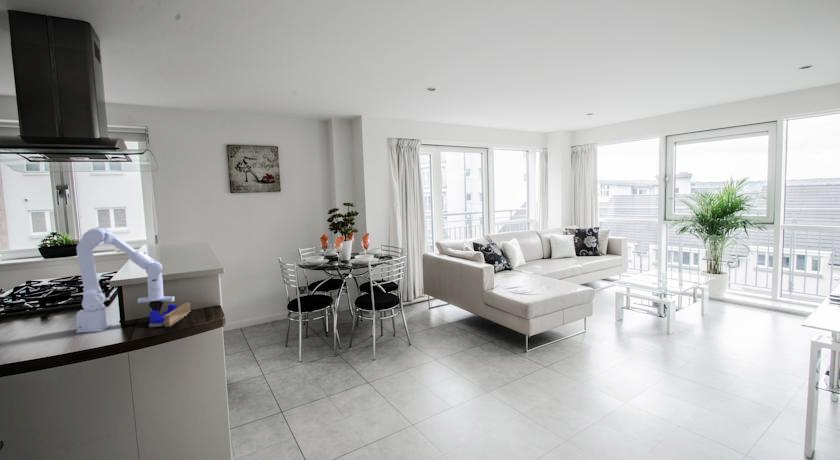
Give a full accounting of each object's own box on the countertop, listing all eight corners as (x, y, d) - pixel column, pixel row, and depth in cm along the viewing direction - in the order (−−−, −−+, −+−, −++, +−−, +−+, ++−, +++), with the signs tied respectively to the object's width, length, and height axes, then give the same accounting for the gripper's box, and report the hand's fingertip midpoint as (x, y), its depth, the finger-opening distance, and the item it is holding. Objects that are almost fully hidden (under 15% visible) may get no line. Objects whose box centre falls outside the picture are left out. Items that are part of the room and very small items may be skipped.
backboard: (165, 327, 166) (164, 315, 166) (186, 312, 187) (185, 302, 187) (170, 326, 167) (169, 315, 166) (190, 312, 187) (189, 302, 187)
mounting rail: (149, 327, 167) (148, 322, 166) (169, 314, 185) (169, 310, 184) (166, 326, 168) (166, 321, 168) (185, 313, 186) (184, 309, 186)
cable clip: (168, 316, 181) (167, 304, 181) (177, 316, 181) (176, 304, 180) (147, 324, 169) (146, 311, 169) (156, 325, 169) (155, 312, 168)
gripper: (176, 285, 179) (178, 313, 180) (142, 286, 177) (144, 315, 178) (169, 289, 172) (171, 318, 173) (134, 290, 170) (136, 320, 171)
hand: (157, 317), depth 175 cm, fingers closed, pressing on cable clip
